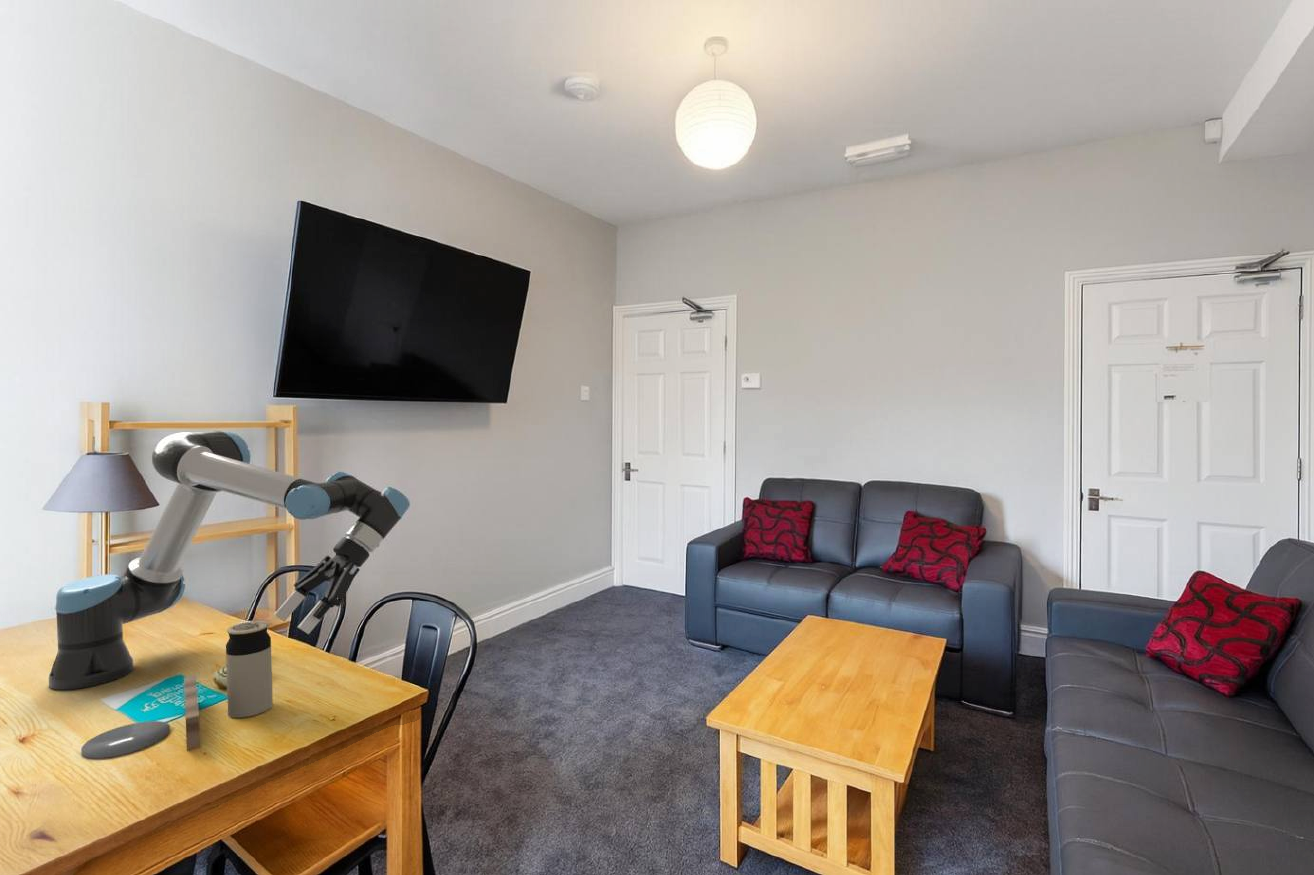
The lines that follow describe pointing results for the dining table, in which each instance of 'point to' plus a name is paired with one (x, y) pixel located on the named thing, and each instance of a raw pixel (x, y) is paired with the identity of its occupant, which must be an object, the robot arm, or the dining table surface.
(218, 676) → the decorated donut
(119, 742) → the grey oval pebble
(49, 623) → the dining table surface
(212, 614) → the dining table surface
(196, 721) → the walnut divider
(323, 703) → the dining table surface
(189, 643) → the dining table surface
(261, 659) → the travel mug
